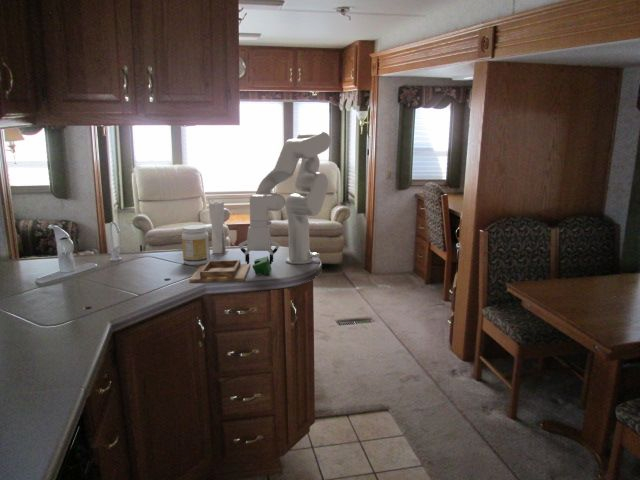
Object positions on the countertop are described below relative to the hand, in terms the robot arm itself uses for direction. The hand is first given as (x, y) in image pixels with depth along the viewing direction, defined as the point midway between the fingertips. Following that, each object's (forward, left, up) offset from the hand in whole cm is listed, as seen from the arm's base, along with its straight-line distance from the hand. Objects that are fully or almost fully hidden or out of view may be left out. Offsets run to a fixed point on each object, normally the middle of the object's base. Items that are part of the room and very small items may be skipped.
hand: (259, 263), depth 210 cm
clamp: (-1, -1, -5) cm, 5 cm away
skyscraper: (+24, -40, -5) cm, 47 cm away
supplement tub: (+31, -21, -5) cm, 38 cm away
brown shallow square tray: (+16, 0, -4) cm, 17 cm away
